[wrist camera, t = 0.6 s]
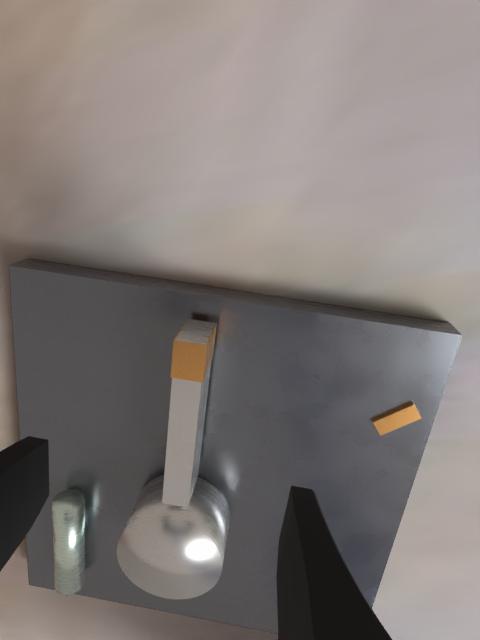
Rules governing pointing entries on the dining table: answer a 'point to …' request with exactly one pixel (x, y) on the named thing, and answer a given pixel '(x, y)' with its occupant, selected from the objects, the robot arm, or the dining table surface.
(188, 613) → the grey flat square slab
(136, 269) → the dining table surface
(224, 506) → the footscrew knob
